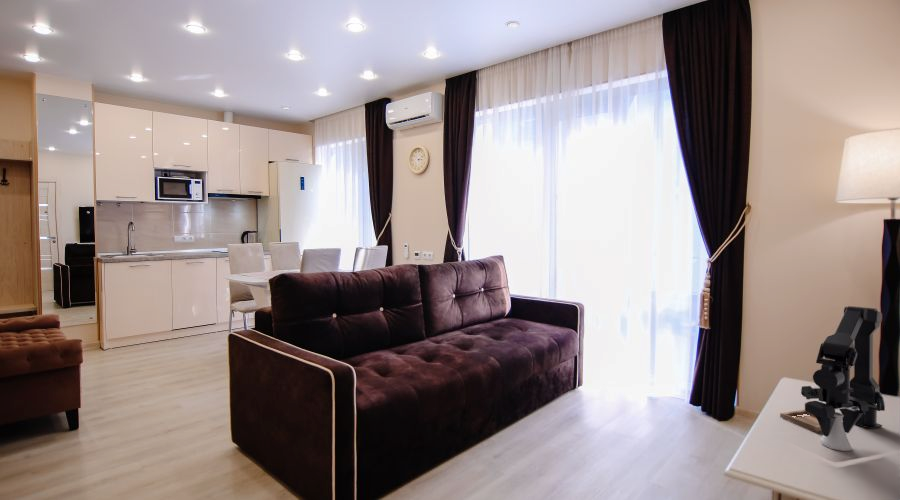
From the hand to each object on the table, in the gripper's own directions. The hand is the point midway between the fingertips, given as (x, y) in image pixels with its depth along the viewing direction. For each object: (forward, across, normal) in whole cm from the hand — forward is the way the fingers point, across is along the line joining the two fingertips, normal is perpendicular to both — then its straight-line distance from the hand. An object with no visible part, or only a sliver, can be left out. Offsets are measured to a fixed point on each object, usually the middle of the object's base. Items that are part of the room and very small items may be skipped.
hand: (836, 434), depth 135 cm
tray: (+4, -10, -14) cm, 18 cm away
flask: (+4, 0, 0) cm, 4 cm away
